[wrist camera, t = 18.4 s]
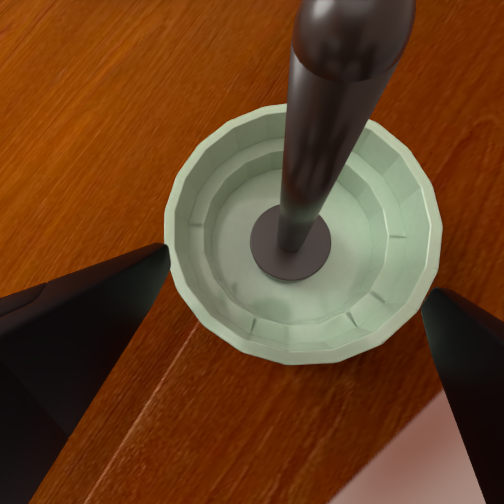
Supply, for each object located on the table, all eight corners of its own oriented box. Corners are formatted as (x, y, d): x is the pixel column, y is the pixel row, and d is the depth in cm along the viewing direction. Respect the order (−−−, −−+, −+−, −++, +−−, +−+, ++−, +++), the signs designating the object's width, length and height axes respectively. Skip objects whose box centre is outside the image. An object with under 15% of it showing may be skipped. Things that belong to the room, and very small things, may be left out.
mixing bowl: (375, 371, 15) (424, 405, 10) (169, 314, 17) (127, 319, 12) (403, 172, 18) (454, 122, 13) (222, 141, 19) (205, 87, 15)
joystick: (264, 292, 16) (212, 232, 2) (243, 226, 17) (119, -104, 3) (335, 270, 16) (772, 52, 2) (309, 204, 17) (476, -229, 3)
